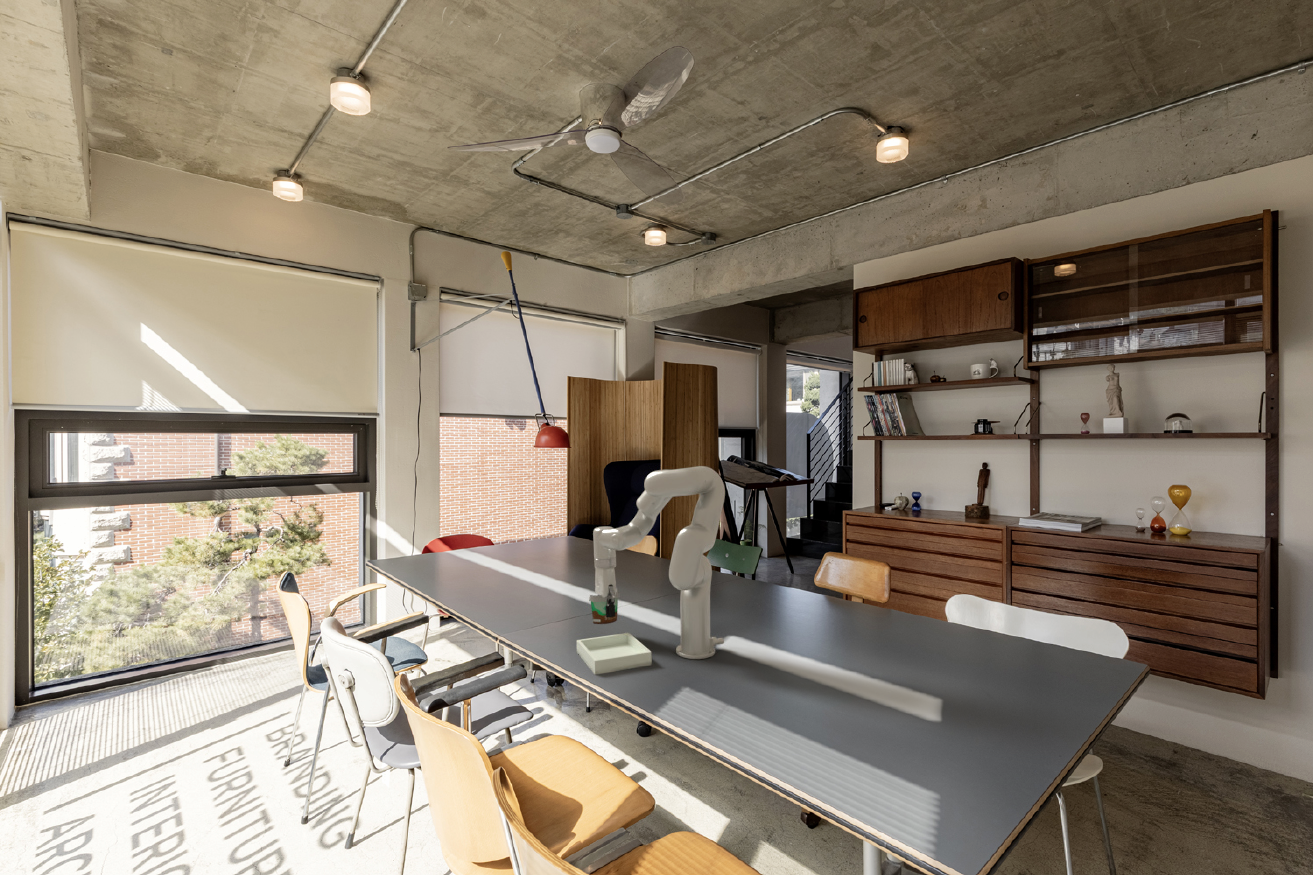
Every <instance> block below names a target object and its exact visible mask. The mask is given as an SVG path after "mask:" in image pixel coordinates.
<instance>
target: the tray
mask: <svg viewBox="0 0 1313 875" xmlns="http://www.w3.org/2000/svg"><path fill="white" fill-rule="evenodd" d="M576 653H577V655H578V654H579V655H578V656H579V657H580V659H581V660H582V661H583V662H584V664H586V666H587V667H588V668H589V669H590V670H591V672H592V673H593V674H594V676H595V675H601V674H608V673H613V672H619V671H623V670H624V671H625V670H630V669H636V668H643V667H648V666H652V664H653V663H652V659H653V658H652V651H651V650H650V649H649V648H647V647H646V646H645V645H644V644H643V643H642V642H640V641H639V640H638V639H637V638H636V637H634V636H633V635H632V634H631V633H630V632H625V633H619V634H618V633H617V634H610V635H603V636H595V637H590V638H583V639H576Z"/></svg>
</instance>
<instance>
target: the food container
mask: <svg viewBox="0 0 1313 875" xmlns="http://www.w3.org/2000/svg"><path fill="white" fill-rule="evenodd" d="M607 596H609V597H605V598H603V597H602V595H598V594H597V595H593V594H590V595H589V597H588V598H589V600H588V601H589V602H590V606H591V608H590V609H591V616H592V624H594V625H607V624H608V625H609V624H612V623H616V622H617V621H618V608H619V607H618V605H619V604H618V603H619V598H620V597H621V596H620V592H619V590H618V588H616V595H615V617H609V618H607V617H606V606H607V605H606V601H607V599H608V602H609V599H610V594H608V595H607Z"/></svg>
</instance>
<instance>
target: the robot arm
mask: <svg viewBox="0 0 1313 875" xmlns="http://www.w3.org/2000/svg"><path fill="white" fill-rule="evenodd" d="M643 487H644V491H643V492H642V493H641V495H640V496H639V497H638V498H637V500H636V507H637V509H638V510H637V513H636V514H635V516H634V518H633V519H632V520H631V521H630V522H629V523H628V524H627V525H623V526H619V527H616V528H614V527H612V526H598V527H597V526H596V527H595V528H594V529H593V531H592V532H593V533H592V535H593V538H592V539H593V557H594V558H593V560H594V561H593V562H594V563H593V564H594V569H595V574H594V575H595V576H594V577H595V578H594V579H595V580H594V582H595V583H594V588H595V589H594V592H595V594H597V595H602V597H603V598H605V597H609V596H607V595H608V594H610V599H609V602H608V599H607V601H606V605H607V606H606V617H607V618H609V617H615V595H616V589H617V581H616V580H617V579H616V571H615V570H616V569H615V568H616V567H617V554H616V553H617V551H624V550H627V549H629V548H632V547H635V546H637V545H638V544H640V543H641V542H642V541H643V540H644V538H646V536H647V535H648V534H649V532H651V530H652V528H653V527H654V525H655V523H656V520H657V517H658V515H660V513H661V512H662V510H663V509H664V508H665V506H666V505H667V503H669V502H670V501H671V499H672V498H673V497H682V496H683V497H684V496H686V497H687V496H693V495H697V494H698V495H699V496H698V499H697V502H696V504H695V506H694V507H695V508H694V510H693V517H692V520H691V523H690V525H687V526H685V527H683V528H682V529H681V530H680V531H679V532H678V534H677V535H676V538H675V541H674V545H673V550H672V554H671V559H670V564H669V566H668V568H669V569H668V578H669V582H670V583H671V585H672V586H673V587H674V588H675V589H677V590H679V591H680V606H679V607H680V609H679V610H680V617H679V619H680V644H679V645H678V646H676V649H675V653H676V655H678V656H680V657H682V658H685V659H690V660H701V659H708V658H711V657H713V656H714V655H715V654H716V648H715V646H716V645H724V643H725V640H724V638H723V637H719V638H717V636H711V582H712V576H713V570H712V564H711V561H710V560H709V558H708V557H707V556H706V555H704V553H706V552H708V551H710V550H711V549H712V548H713V547H714V545H715V542H716V539H717V534H718V530H719V525H720V520H721V516H722V511H723V508H724V503H725V496H726V490H725V484H724V482H723V480H722V478H721V476H720V474H719V473H717V471H715V470H714V469H713V468H711V467H709V466H703V465H701V466H700V465H698V466H692V467H684V468H683V467H682V468H677V469H676V468H675V469H659V470H654V471H652V472H650V473H649V474H648V475H647V476H646V477H645V479H644V486H643Z"/></svg>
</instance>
